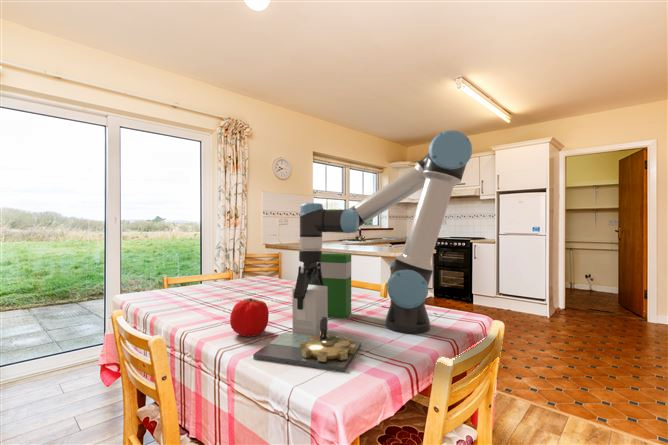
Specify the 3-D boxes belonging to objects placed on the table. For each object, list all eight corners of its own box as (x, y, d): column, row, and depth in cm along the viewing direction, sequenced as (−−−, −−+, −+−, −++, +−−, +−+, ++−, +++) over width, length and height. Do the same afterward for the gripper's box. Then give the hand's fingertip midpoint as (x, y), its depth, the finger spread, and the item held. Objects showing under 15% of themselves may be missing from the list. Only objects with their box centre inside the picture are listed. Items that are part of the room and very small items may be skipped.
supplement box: (328, 330, 109) (328, 285, 109) (316, 338, 101) (316, 290, 101) (305, 326, 113) (305, 283, 113) (291, 334, 105) (291, 287, 105)
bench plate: (361, 345, 94) (361, 341, 94) (344, 372, 77) (344, 366, 77) (284, 336, 102) (284, 332, 102) (253, 358, 85) (253, 353, 85)
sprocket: (364, 357, 82) (364, 327, 83) (308, 365, 77) (308, 333, 78) (343, 338, 96) (343, 312, 97) (294, 344, 91) (294, 317, 92)
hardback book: (303, 314, 129) (303, 254, 129) (310, 309, 136) (311, 252, 136) (345, 318, 123) (345, 255, 123) (351, 313, 130) (351, 253, 130)
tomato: (232, 343, 96) (232, 304, 96) (227, 330, 108) (228, 295, 109) (272, 337, 101) (273, 300, 101) (264, 326, 113) (264, 293, 114)
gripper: (313, 247, 120) (312, 304, 120) (283, 251, 97) (281, 323, 96) (333, 248, 118) (332, 306, 118) (306, 253, 94) (305, 325, 94)
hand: (309, 314), depth 107 cm, fingers open, 13 cm apart
